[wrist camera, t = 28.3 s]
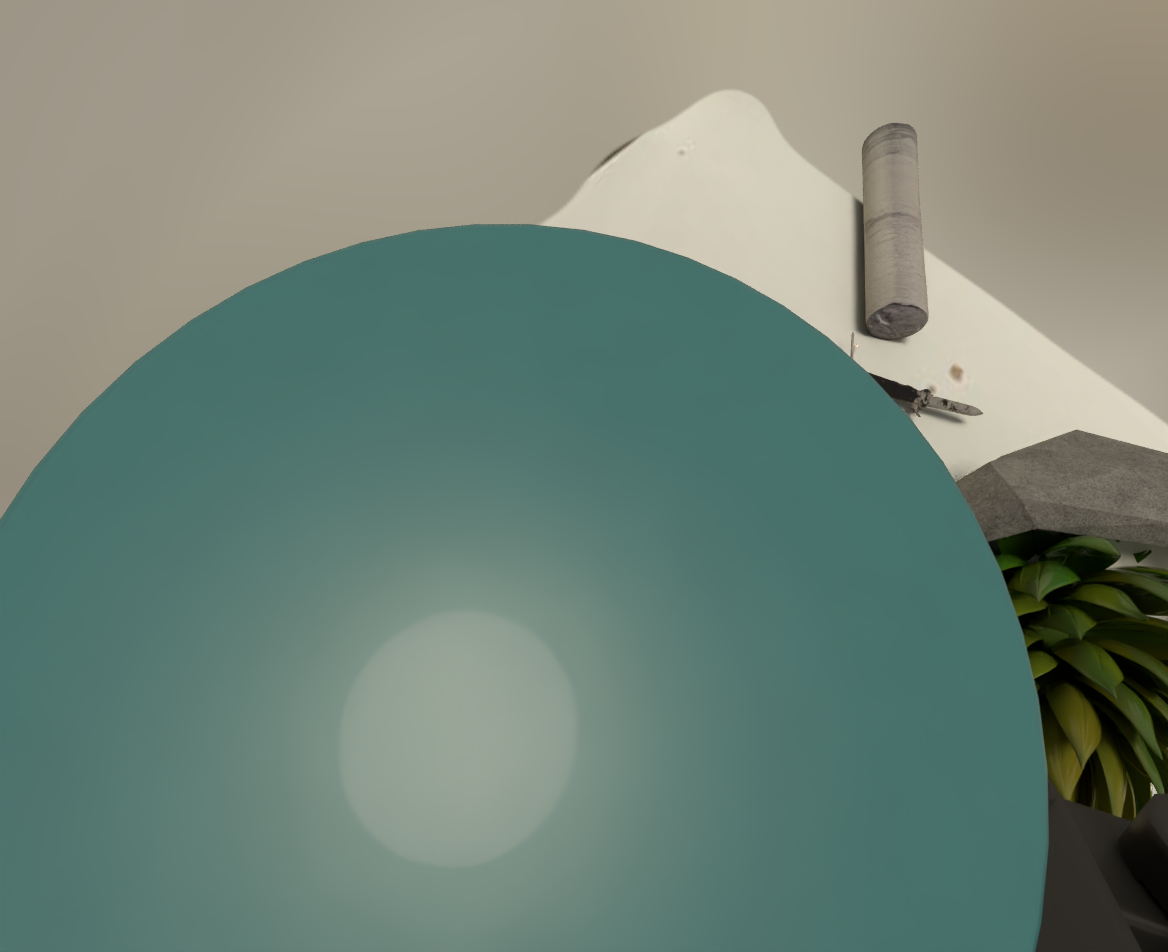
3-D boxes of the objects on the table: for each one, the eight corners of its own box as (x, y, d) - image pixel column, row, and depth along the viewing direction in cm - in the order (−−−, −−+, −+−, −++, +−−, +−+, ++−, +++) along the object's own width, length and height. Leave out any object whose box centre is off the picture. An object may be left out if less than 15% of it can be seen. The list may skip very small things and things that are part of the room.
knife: (1000, 367, 27) (979, 432, 27) (994, 368, 28) (974, 432, 28) (854, 330, 28) (835, 394, 28) (851, 332, 28) (832, 395, 28)
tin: (332, 840, 12) (-470, 1559, 2) (389, 535, 15) (138, 153, 4) (640, 855, 13) (1185, 1451, 3) (649, 561, 15) (968, 286, 5)
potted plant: (1299, 695, 22) (1320, 1169, 14) (919, 584, 31) (783, 836, 22) (1473, 399, 16) (1707, 922, 8) (939, 361, 24) (762, 590, 16)
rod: (932, 302, 27) (863, 308, 28) (924, 338, 29) (861, 342, 30) (922, 112, 31) (862, 123, 32) (916, 157, 33) (861, 166, 34)
